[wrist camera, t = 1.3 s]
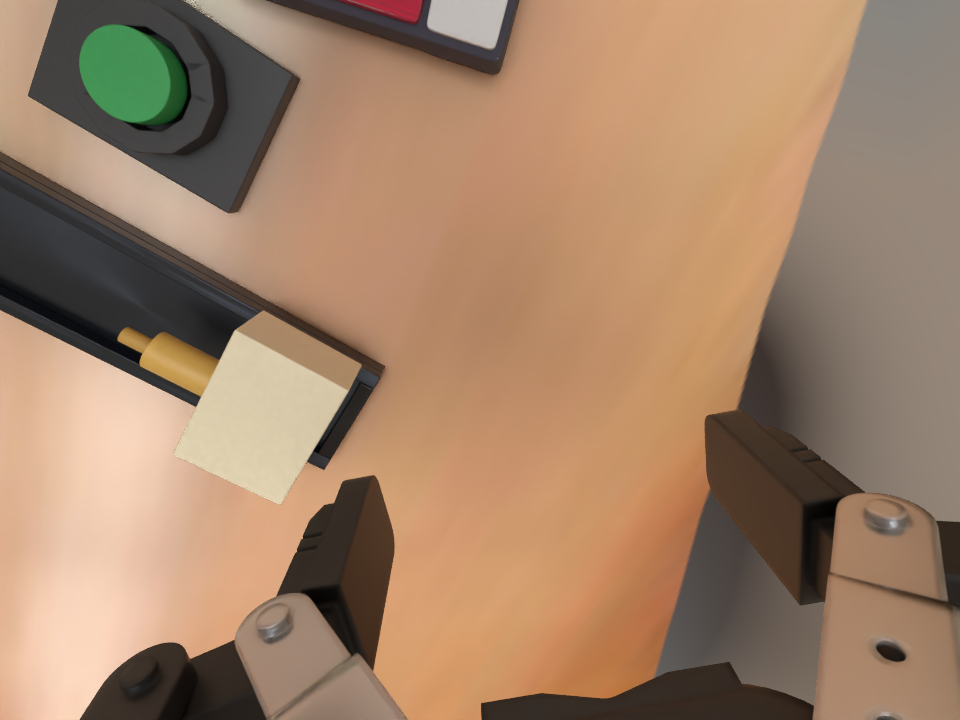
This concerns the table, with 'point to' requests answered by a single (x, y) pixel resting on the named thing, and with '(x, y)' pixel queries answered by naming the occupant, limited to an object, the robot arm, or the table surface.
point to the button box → (209, 105)
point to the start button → (132, 75)
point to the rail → (130, 290)
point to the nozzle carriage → (253, 400)
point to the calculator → (428, 25)
